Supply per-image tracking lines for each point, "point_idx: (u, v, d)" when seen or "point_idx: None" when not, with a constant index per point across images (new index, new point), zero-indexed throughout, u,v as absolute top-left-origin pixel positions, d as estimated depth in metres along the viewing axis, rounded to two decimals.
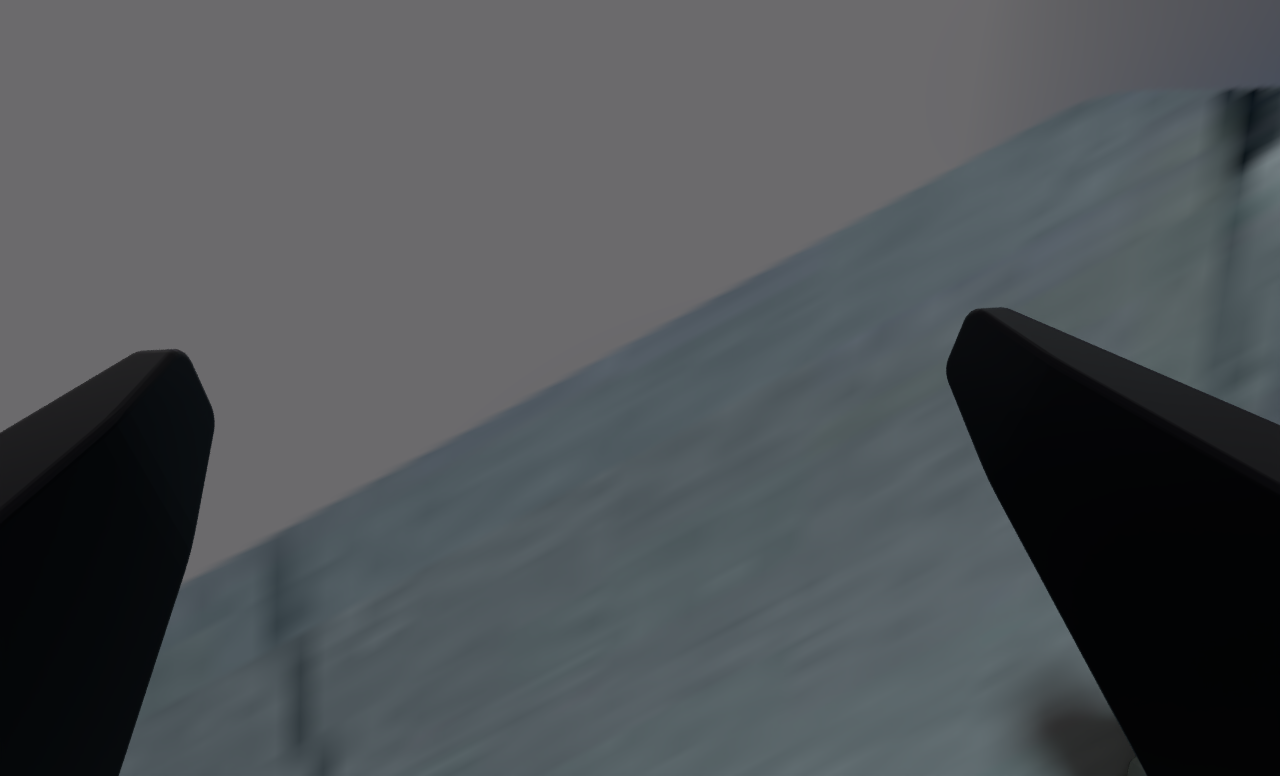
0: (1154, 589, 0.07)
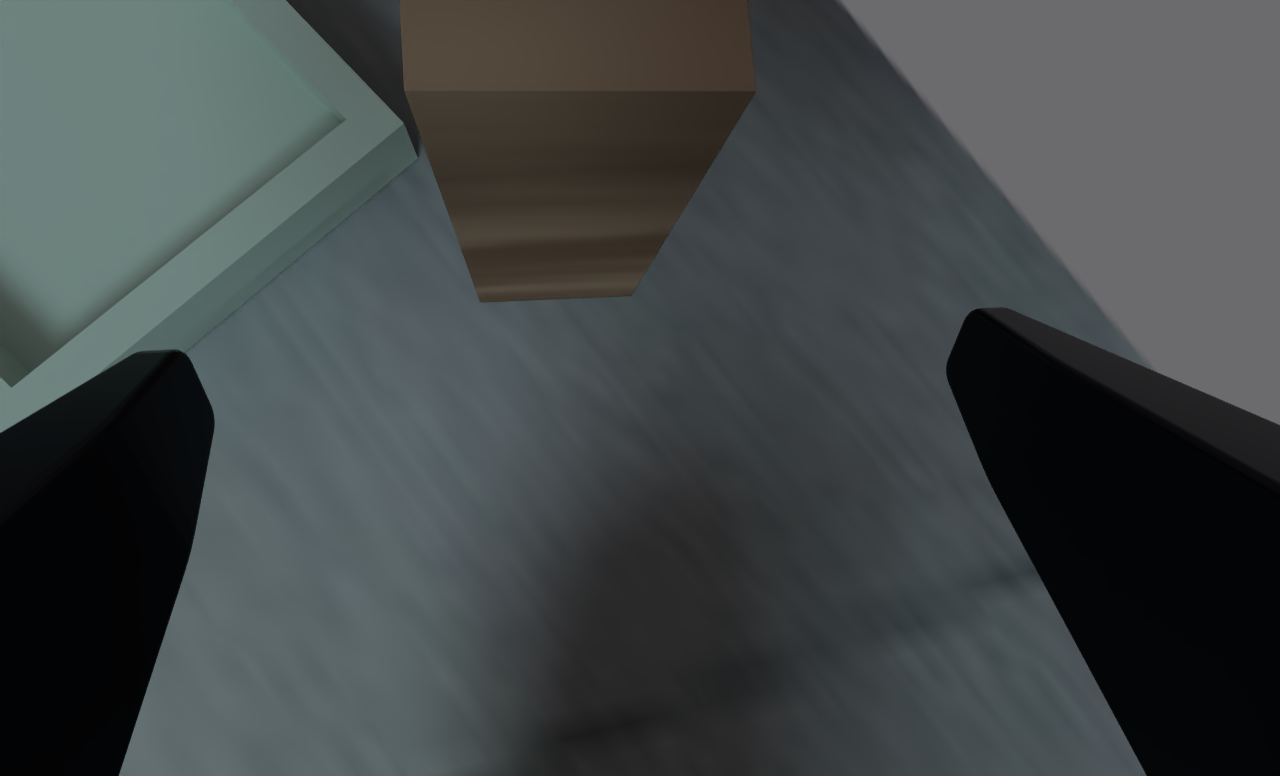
0: (1154, 589, 0.07)
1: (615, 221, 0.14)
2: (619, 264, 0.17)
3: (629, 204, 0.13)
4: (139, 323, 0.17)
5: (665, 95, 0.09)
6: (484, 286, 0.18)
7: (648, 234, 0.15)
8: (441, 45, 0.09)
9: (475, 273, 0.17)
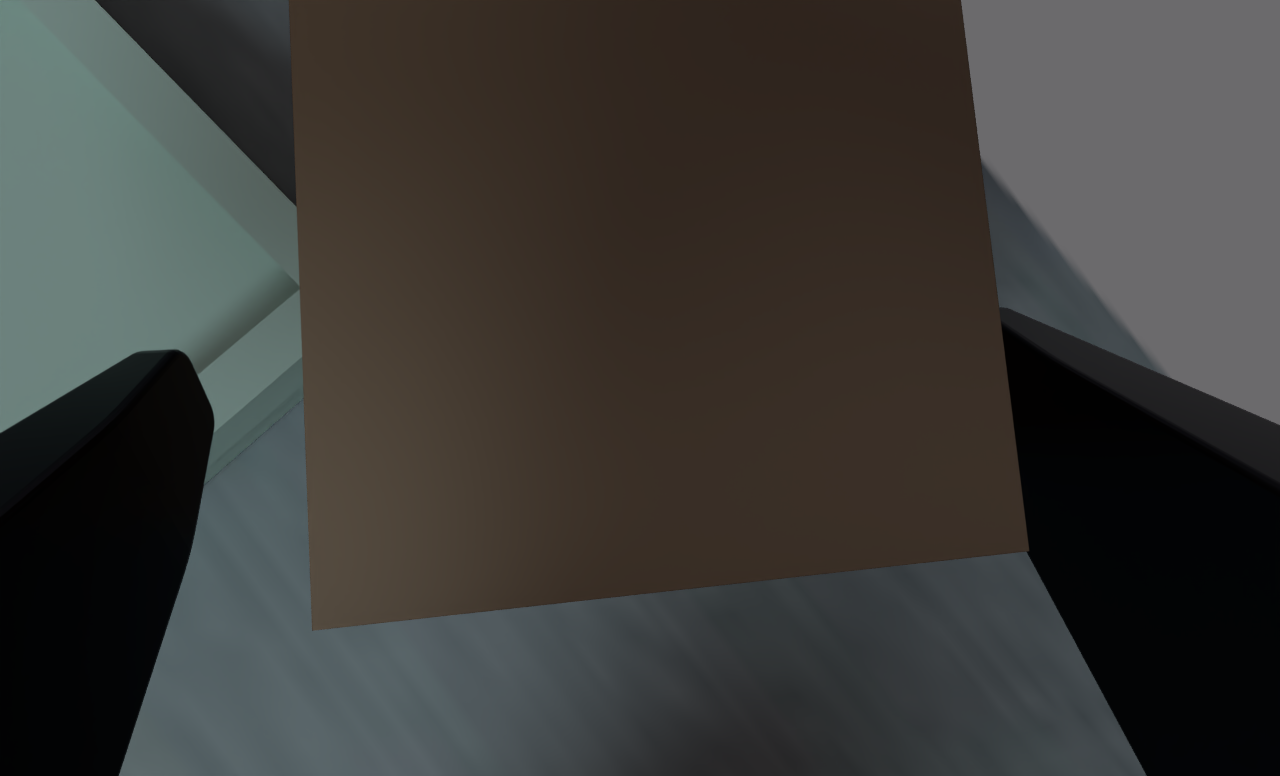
0: (1154, 589, 0.07)
1: None
2: None
3: None
4: None
5: (850, 568, 0.04)
6: None
7: None
8: (396, 517, 0.04)
9: None
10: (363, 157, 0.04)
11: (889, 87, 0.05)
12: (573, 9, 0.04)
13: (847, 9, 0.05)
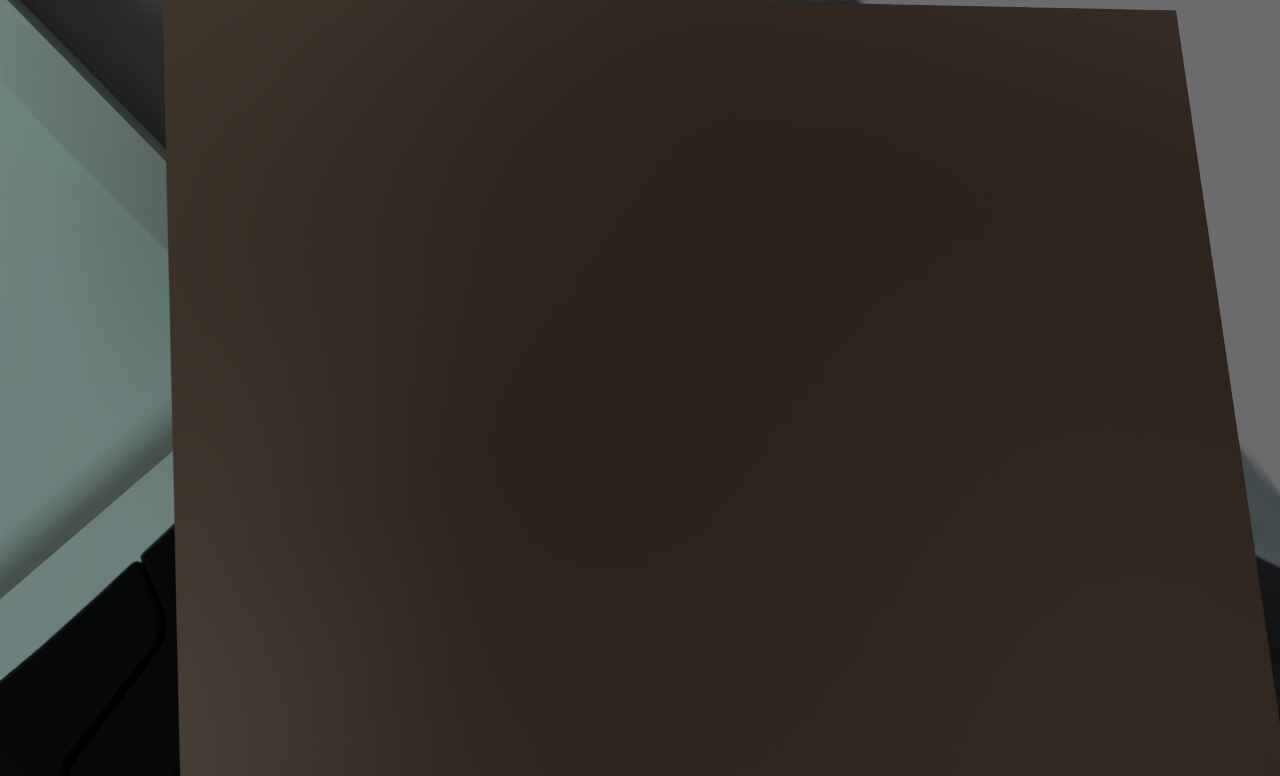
0: None
1: None
2: None
3: None
4: None
5: None
6: None
7: None
8: None
9: None
10: (288, 428, 0.03)
11: (1098, 276, 0.03)
12: (622, 173, 0.03)
13: (1031, 155, 0.03)
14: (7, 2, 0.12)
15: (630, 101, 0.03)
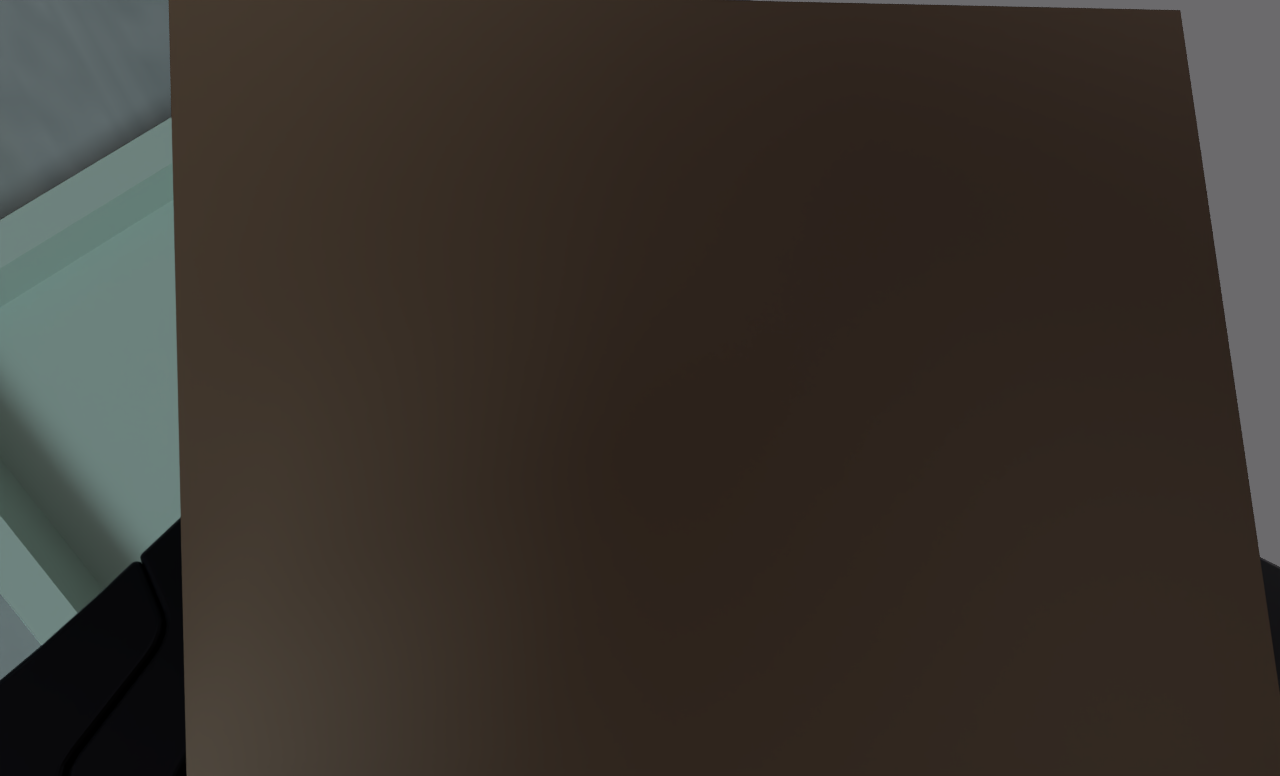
0: None
1: None
2: None
3: None
4: None
5: None
6: None
7: None
8: None
9: None
10: (293, 426, 0.03)
11: (1102, 276, 0.03)
12: (627, 171, 0.03)
13: (1035, 155, 0.03)
14: None
15: (634, 100, 0.03)
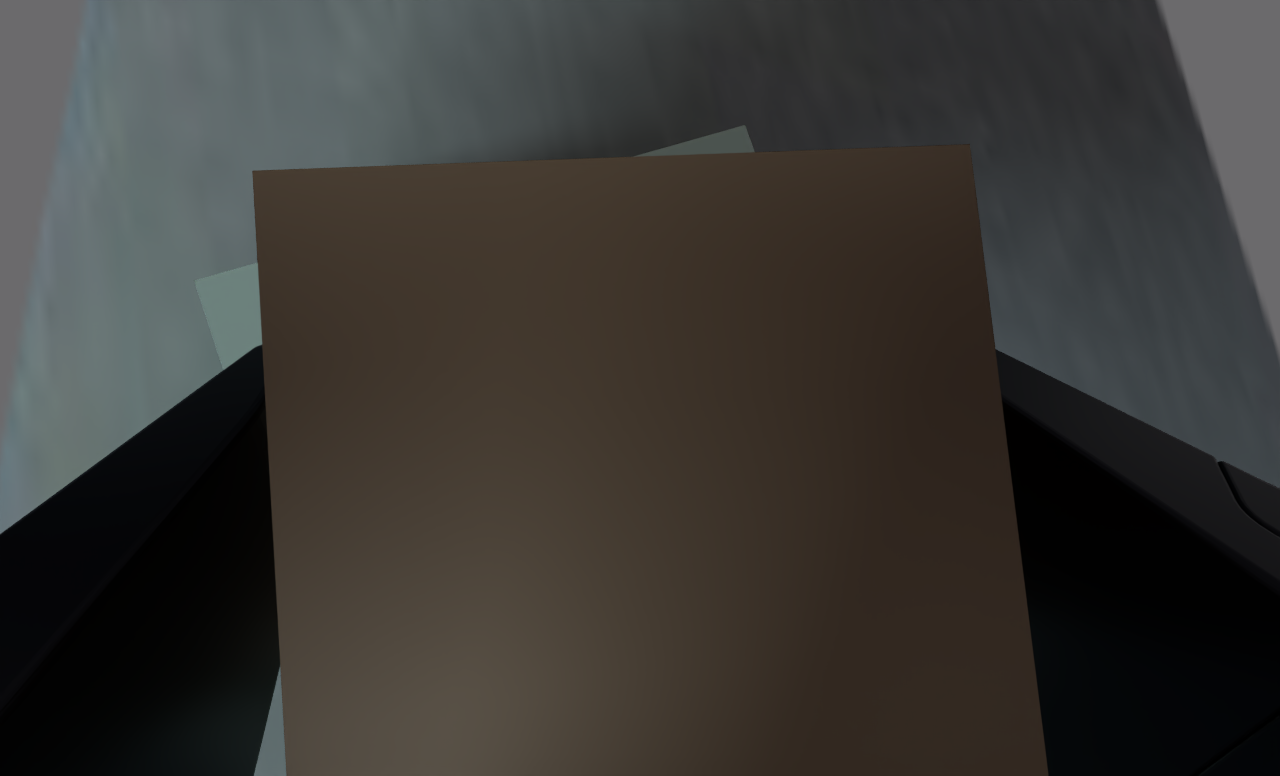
0: (1045, 602, 0.06)
1: None
2: None
3: None
4: None
5: None
6: None
7: None
8: None
9: None
10: (342, 462, 0.04)
11: (904, 342, 0.04)
12: (564, 283, 0.04)
13: (857, 257, 0.04)
14: None
15: (568, 231, 0.04)
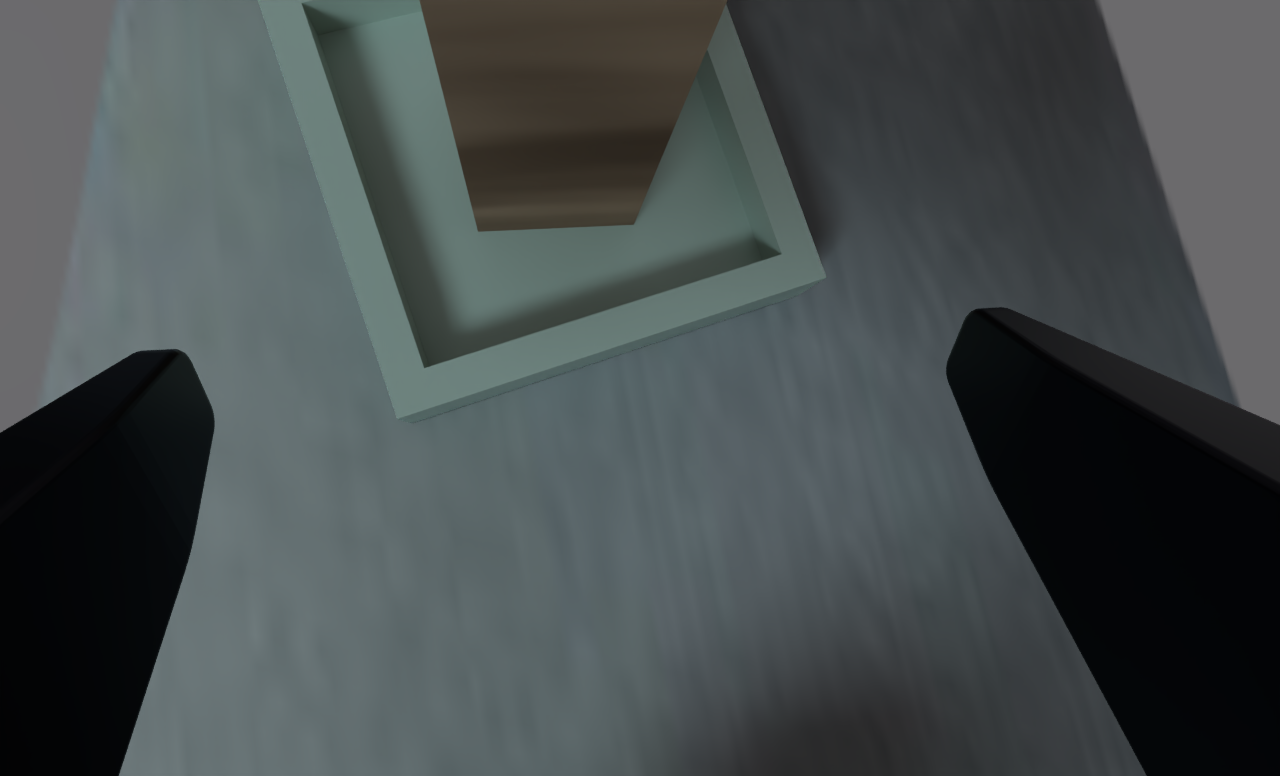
0: (1154, 589, 0.07)
1: (617, 107, 0.13)
2: (621, 175, 0.17)
3: (632, 80, 0.12)
4: (546, 357, 0.18)
5: None
6: (481, 207, 0.18)
7: (652, 129, 0.14)
8: None
9: (472, 186, 0.16)
10: None
11: None
12: None
13: None
14: None
15: None
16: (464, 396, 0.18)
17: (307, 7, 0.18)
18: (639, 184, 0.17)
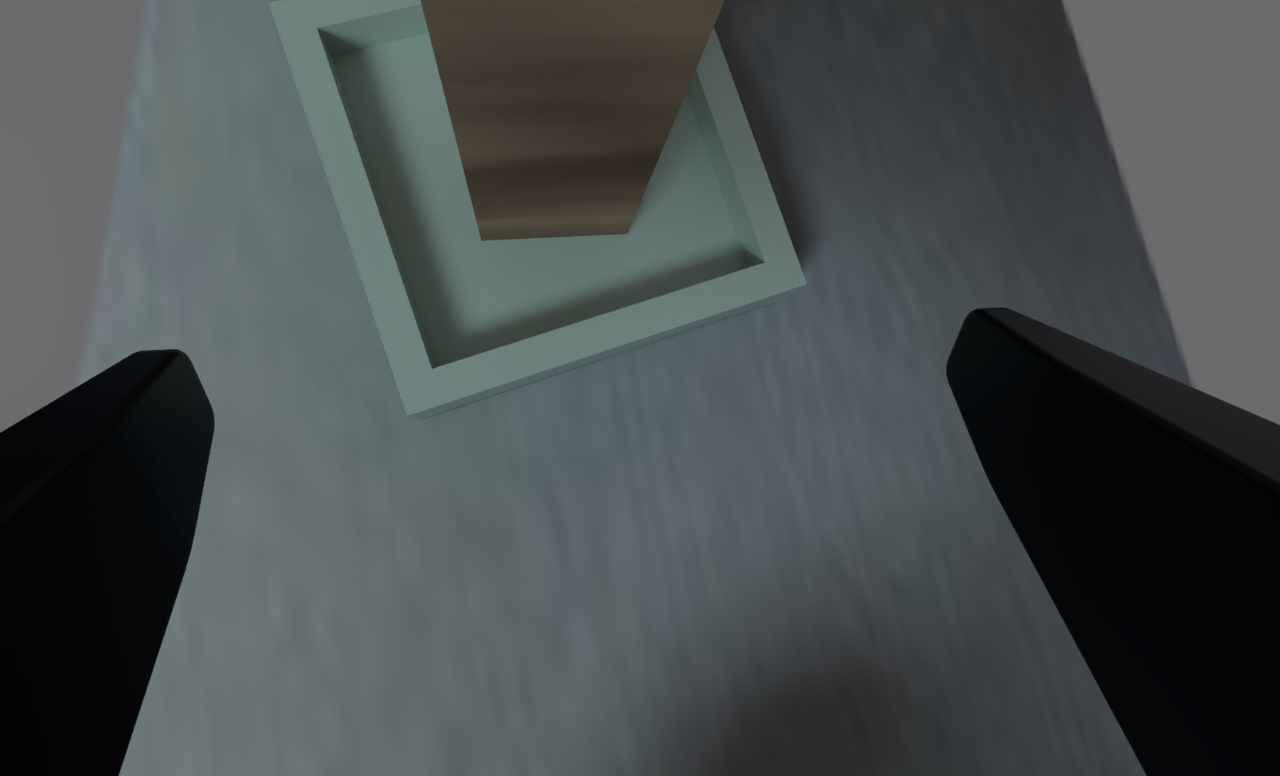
0: (1154, 589, 0.07)
1: (609, 134, 0.15)
2: (614, 191, 0.18)
3: (622, 112, 0.14)
4: (545, 359, 0.20)
5: None
6: (485, 219, 0.19)
7: (642, 153, 0.16)
8: None
9: (476, 201, 0.18)
10: None
11: None
12: None
13: None
14: None
15: None
16: (469, 395, 0.19)
17: (322, 32, 0.20)
18: (631, 199, 0.19)
